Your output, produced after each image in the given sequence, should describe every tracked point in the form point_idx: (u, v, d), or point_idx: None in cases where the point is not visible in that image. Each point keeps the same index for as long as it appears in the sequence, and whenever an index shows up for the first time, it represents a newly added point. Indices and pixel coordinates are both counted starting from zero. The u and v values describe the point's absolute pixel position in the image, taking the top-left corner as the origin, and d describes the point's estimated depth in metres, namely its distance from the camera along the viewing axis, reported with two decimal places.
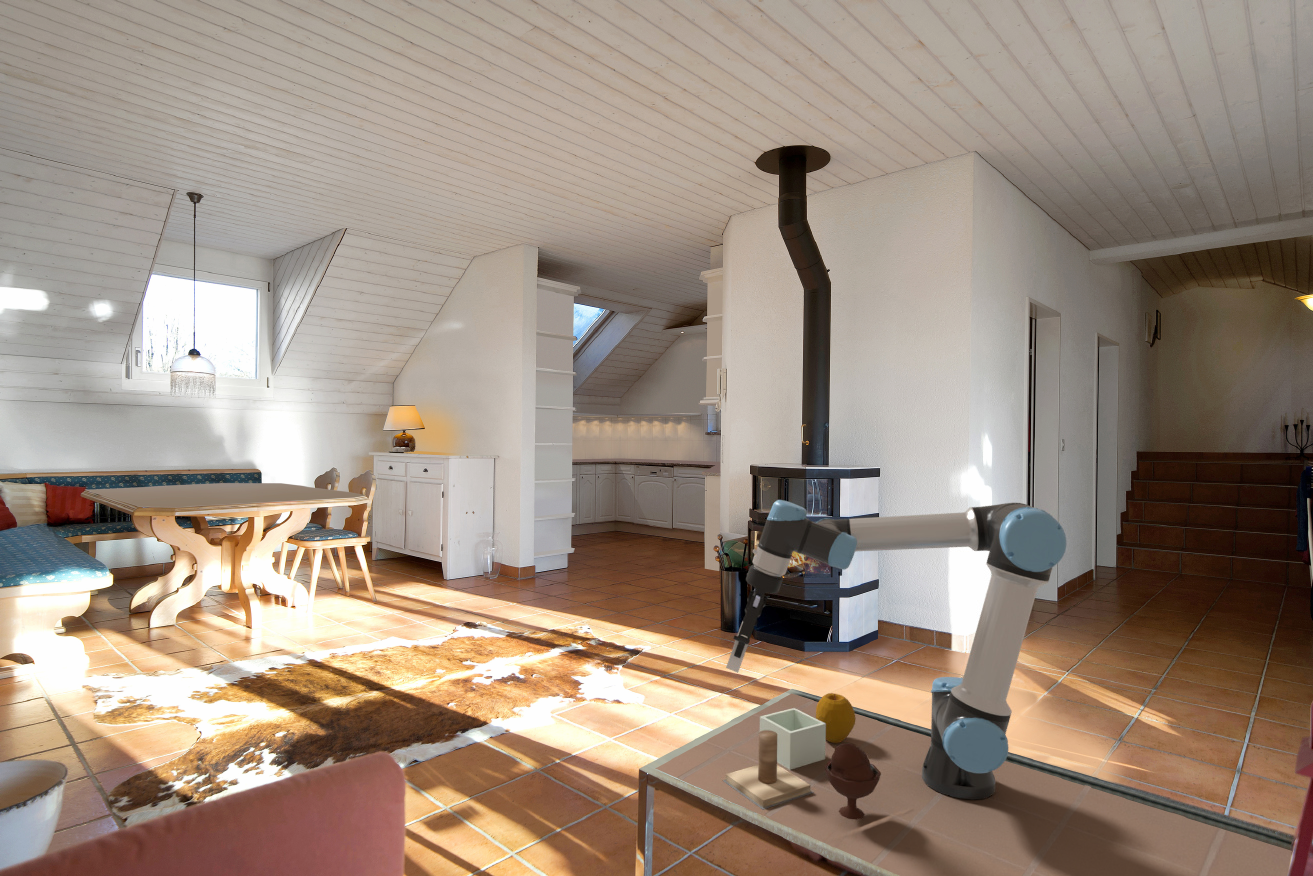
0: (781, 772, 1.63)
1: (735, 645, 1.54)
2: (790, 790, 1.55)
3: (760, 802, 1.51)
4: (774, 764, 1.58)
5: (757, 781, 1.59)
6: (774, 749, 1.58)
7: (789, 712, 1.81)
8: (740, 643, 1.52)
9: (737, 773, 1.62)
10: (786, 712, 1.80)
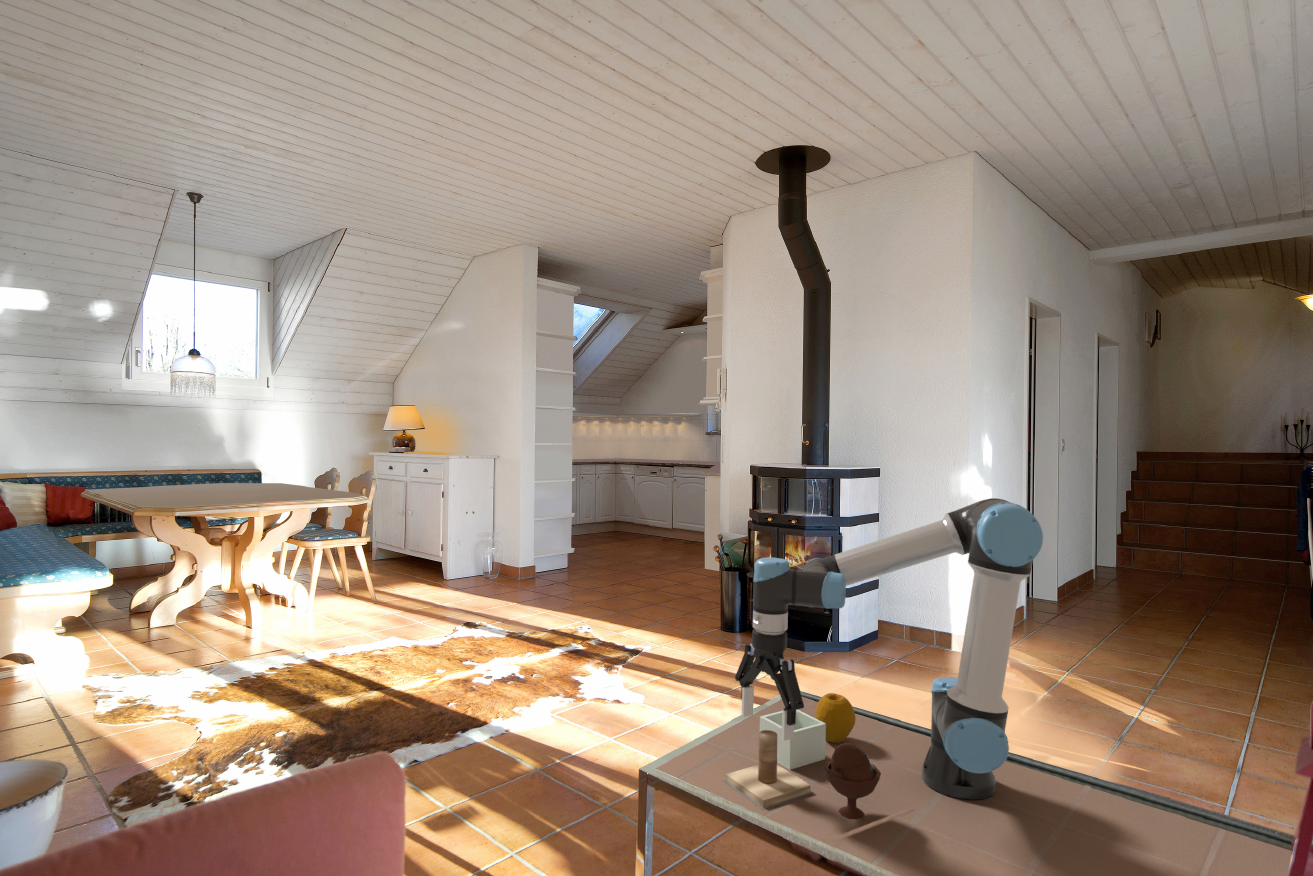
0: (781, 772, 1.63)
1: (785, 715, 1.53)
2: (790, 790, 1.55)
3: (760, 802, 1.51)
4: (774, 764, 1.58)
5: (757, 781, 1.59)
6: (774, 749, 1.58)
7: None
8: (792, 711, 1.52)
9: (737, 773, 1.62)
10: None
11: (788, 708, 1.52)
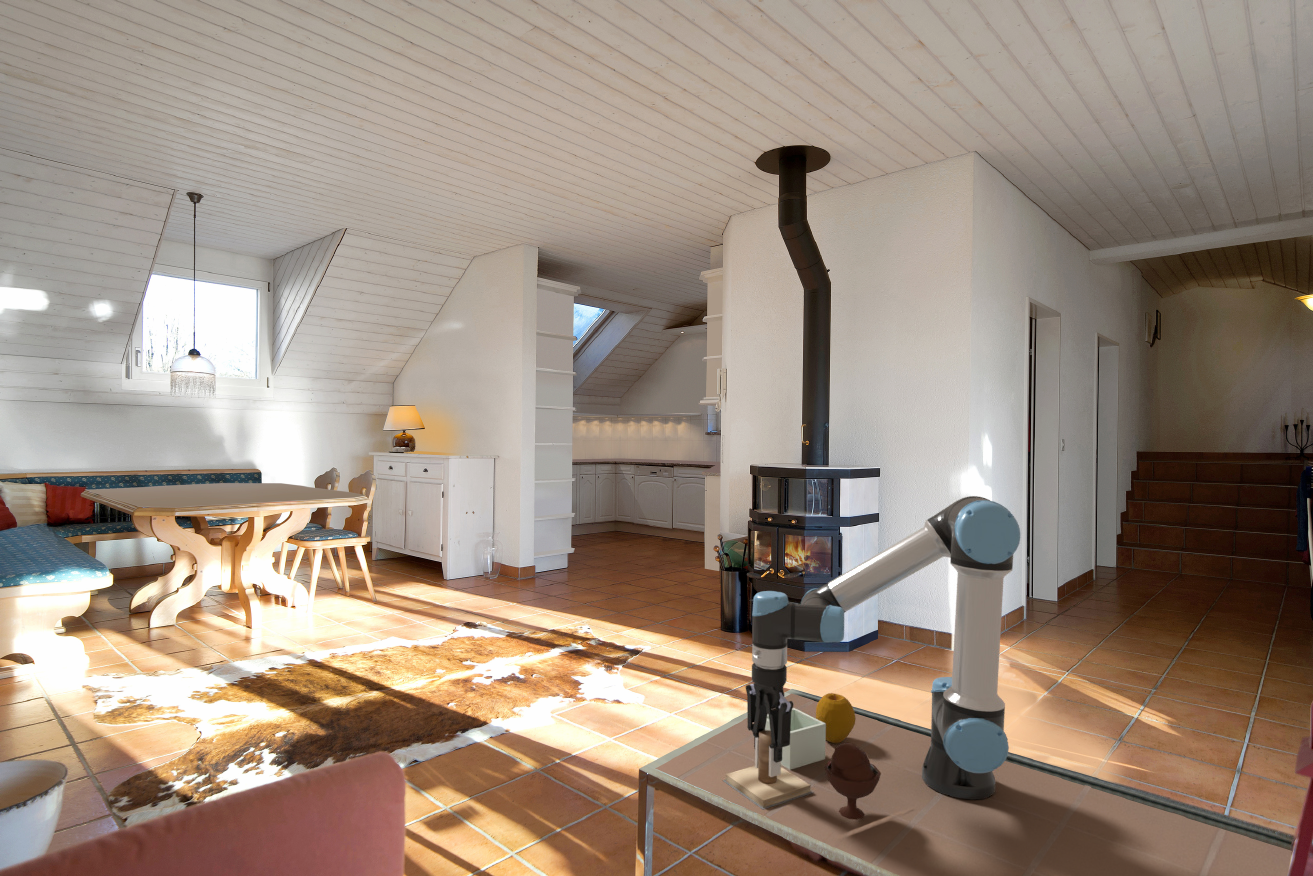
0: (781, 772, 1.63)
1: (772, 752, 1.57)
2: (790, 790, 1.55)
3: (760, 802, 1.51)
4: None
5: (757, 781, 1.59)
6: None
7: None
8: (779, 748, 1.56)
9: (737, 773, 1.62)
10: None
11: (774, 747, 1.56)
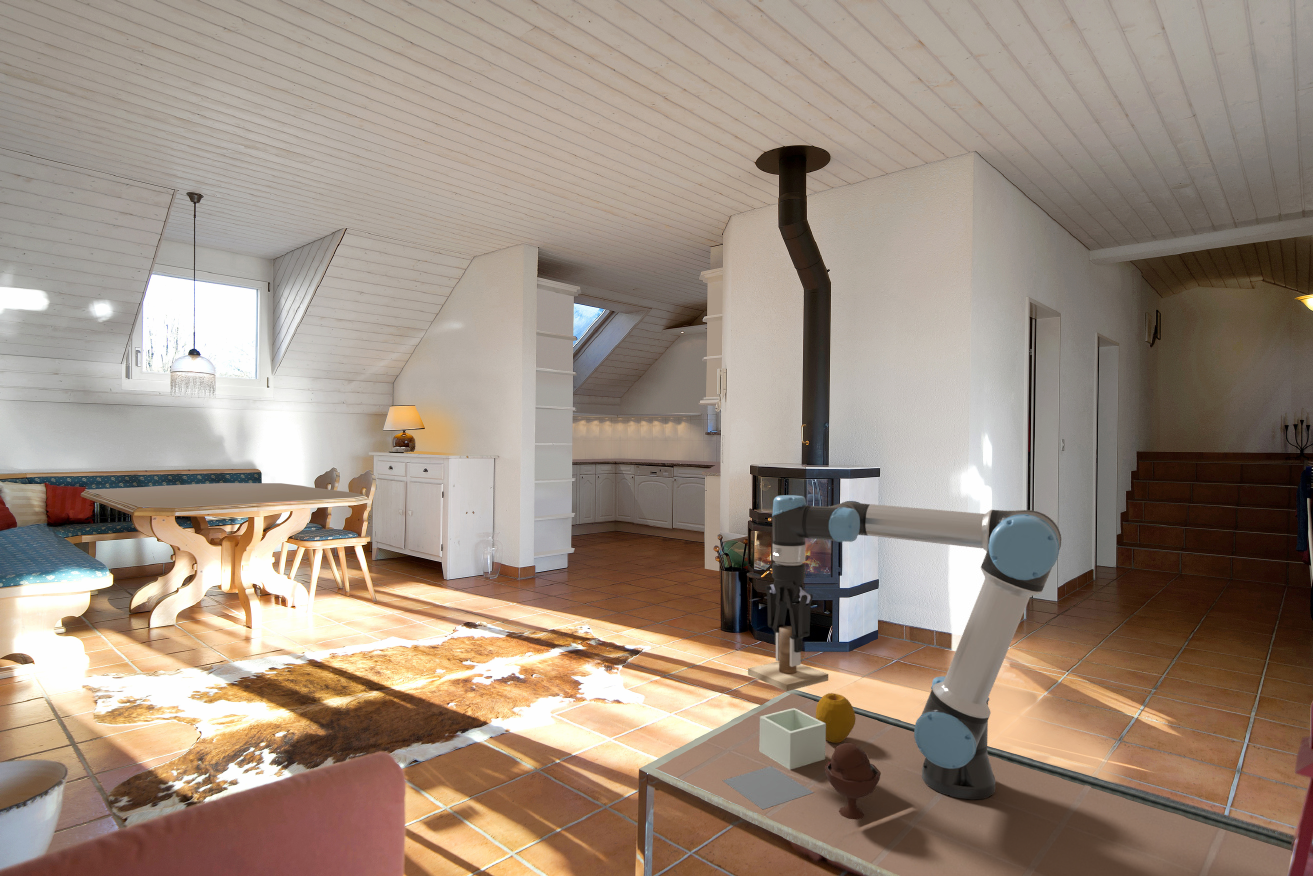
0: (799, 666, 1.74)
1: (793, 643, 1.67)
2: (810, 677, 1.66)
3: (783, 687, 1.62)
4: None
5: (778, 672, 1.69)
6: None
7: (789, 712, 1.81)
8: (799, 639, 1.67)
9: (759, 667, 1.72)
10: (786, 712, 1.80)
11: (795, 637, 1.66)
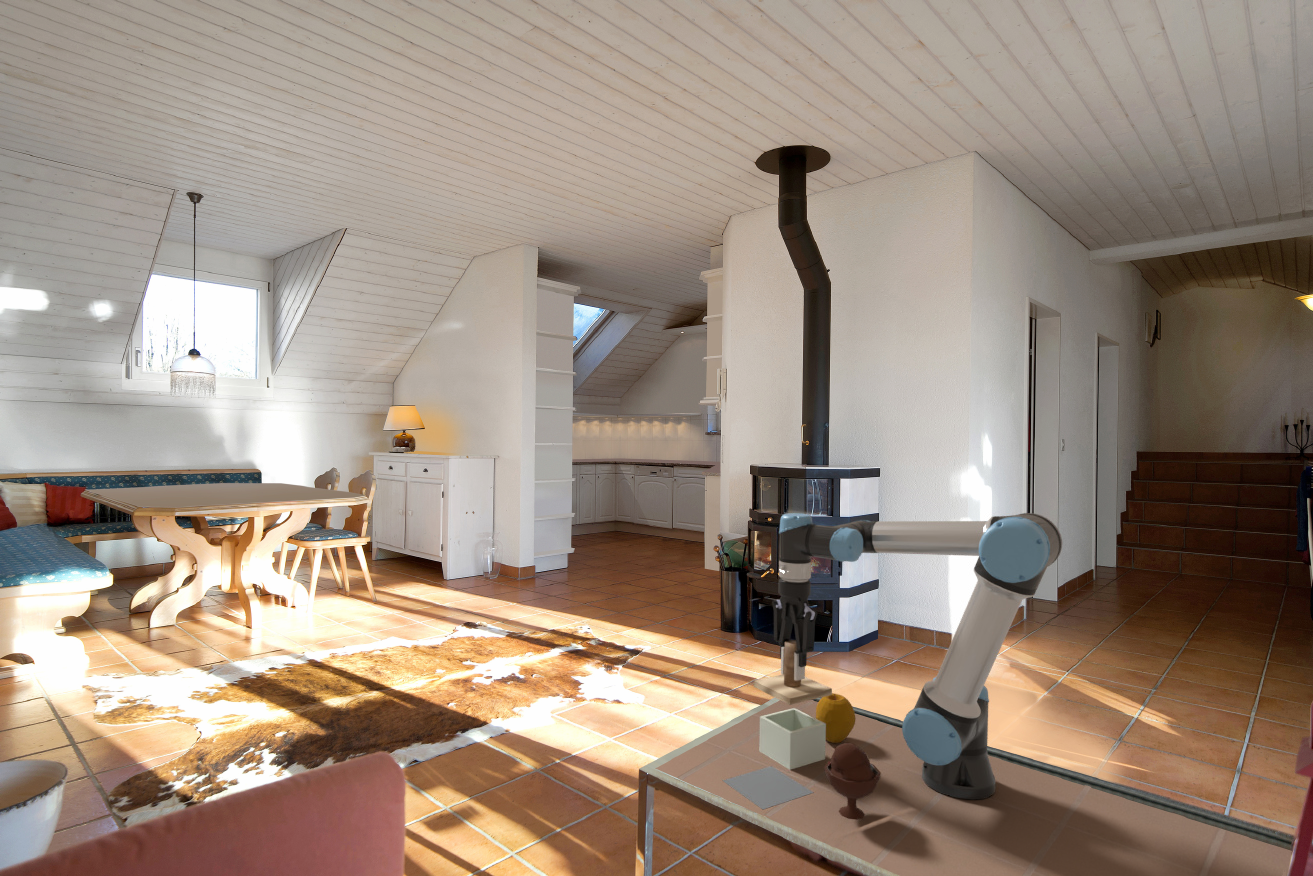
0: (804, 679, 1.78)
1: (797, 658, 1.72)
2: (814, 691, 1.70)
3: (787, 700, 1.67)
4: None
5: (783, 685, 1.74)
6: None
7: (789, 712, 1.81)
8: (803, 654, 1.71)
9: (764, 680, 1.77)
10: (786, 712, 1.80)
11: (799, 652, 1.71)
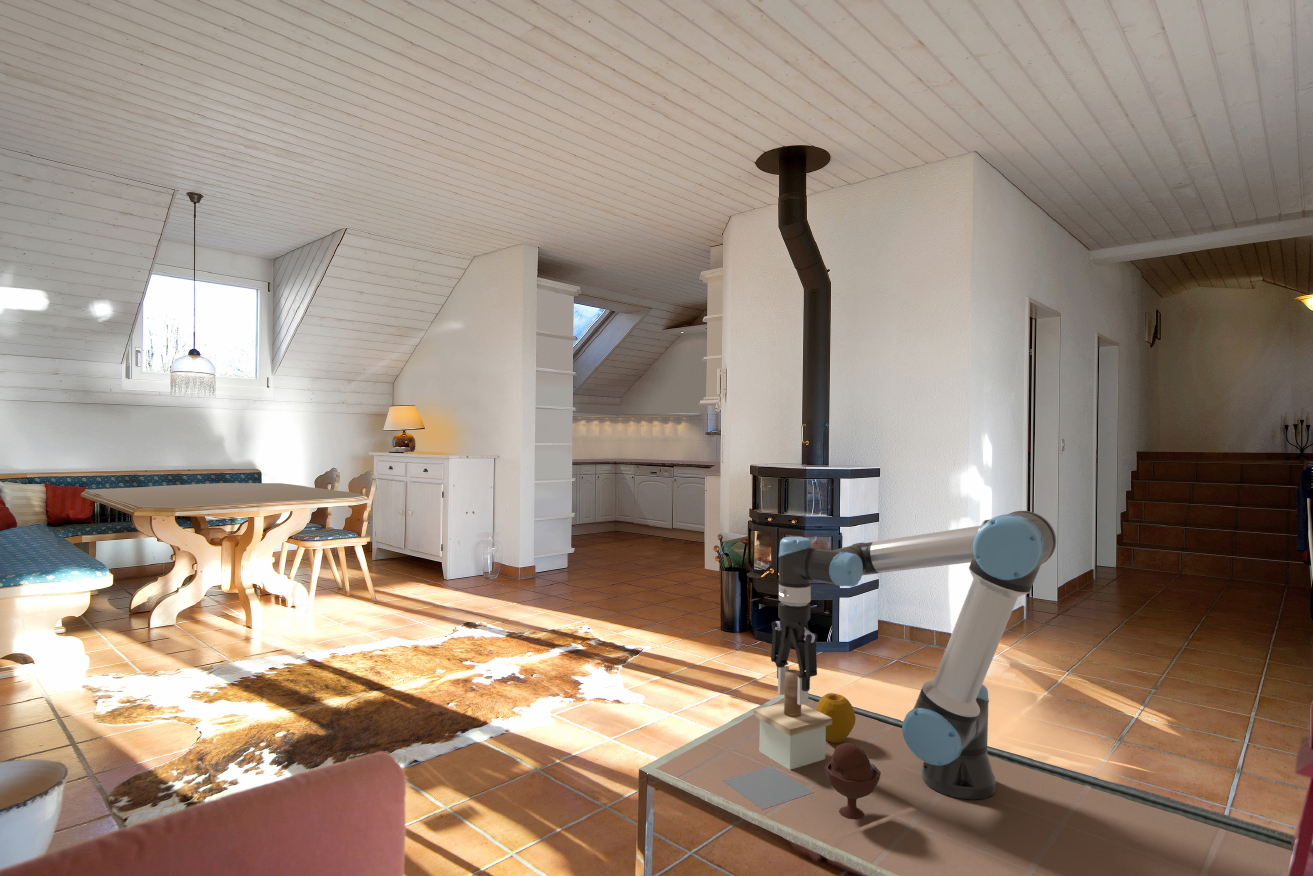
0: (804, 708, 1.78)
1: (800, 682, 1.71)
2: (814, 721, 1.70)
3: (787, 731, 1.67)
4: None
5: (783, 715, 1.74)
6: None
7: None
8: (807, 678, 1.70)
9: (764, 709, 1.77)
10: None
11: (803, 676, 1.70)
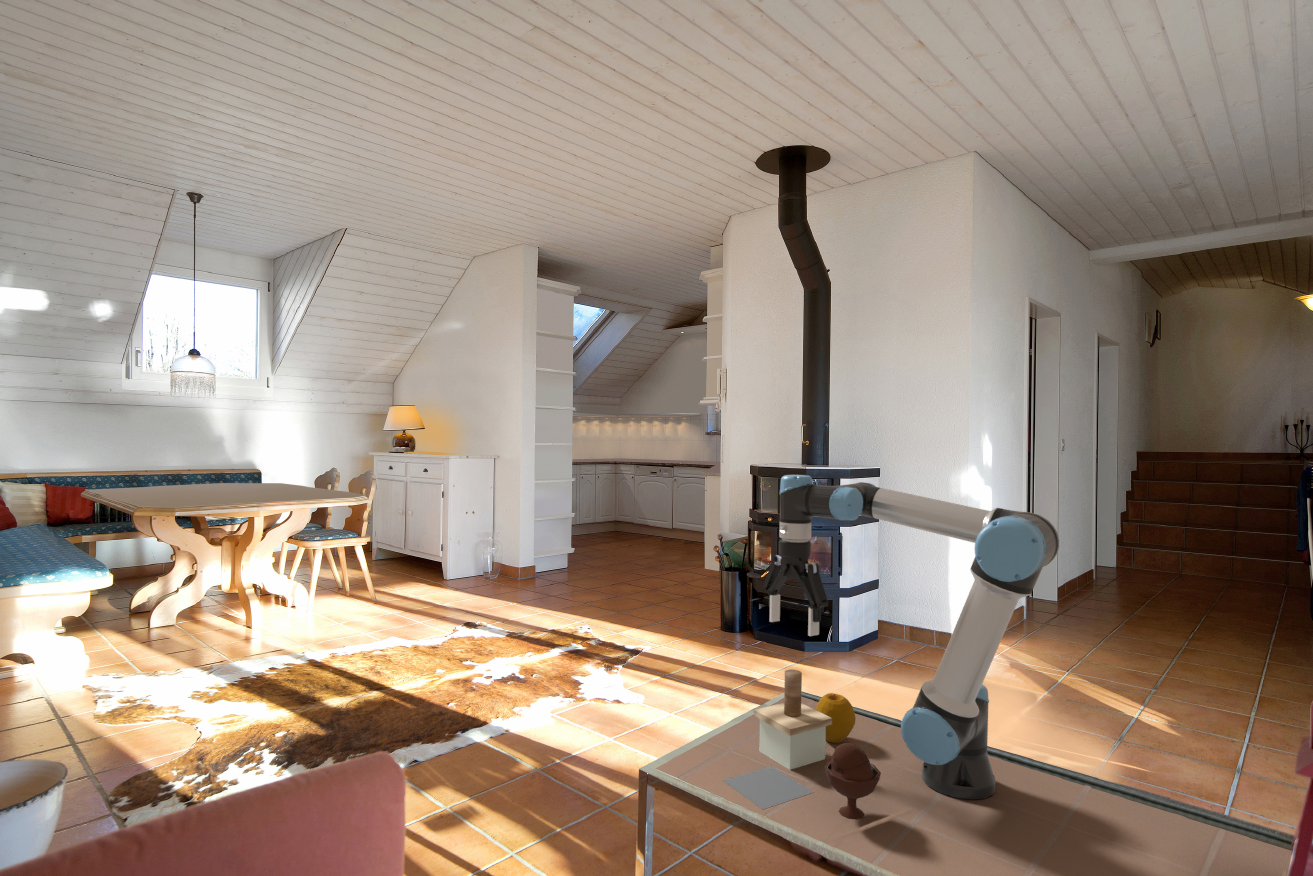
0: (804, 708, 1.78)
1: (811, 613, 1.69)
2: (814, 721, 1.70)
3: (787, 731, 1.67)
4: (798, 699, 1.73)
5: (783, 715, 1.74)
6: (799, 686, 1.73)
7: None
8: (818, 608, 1.68)
9: (764, 709, 1.77)
10: None
11: (814, 606, 1.67)
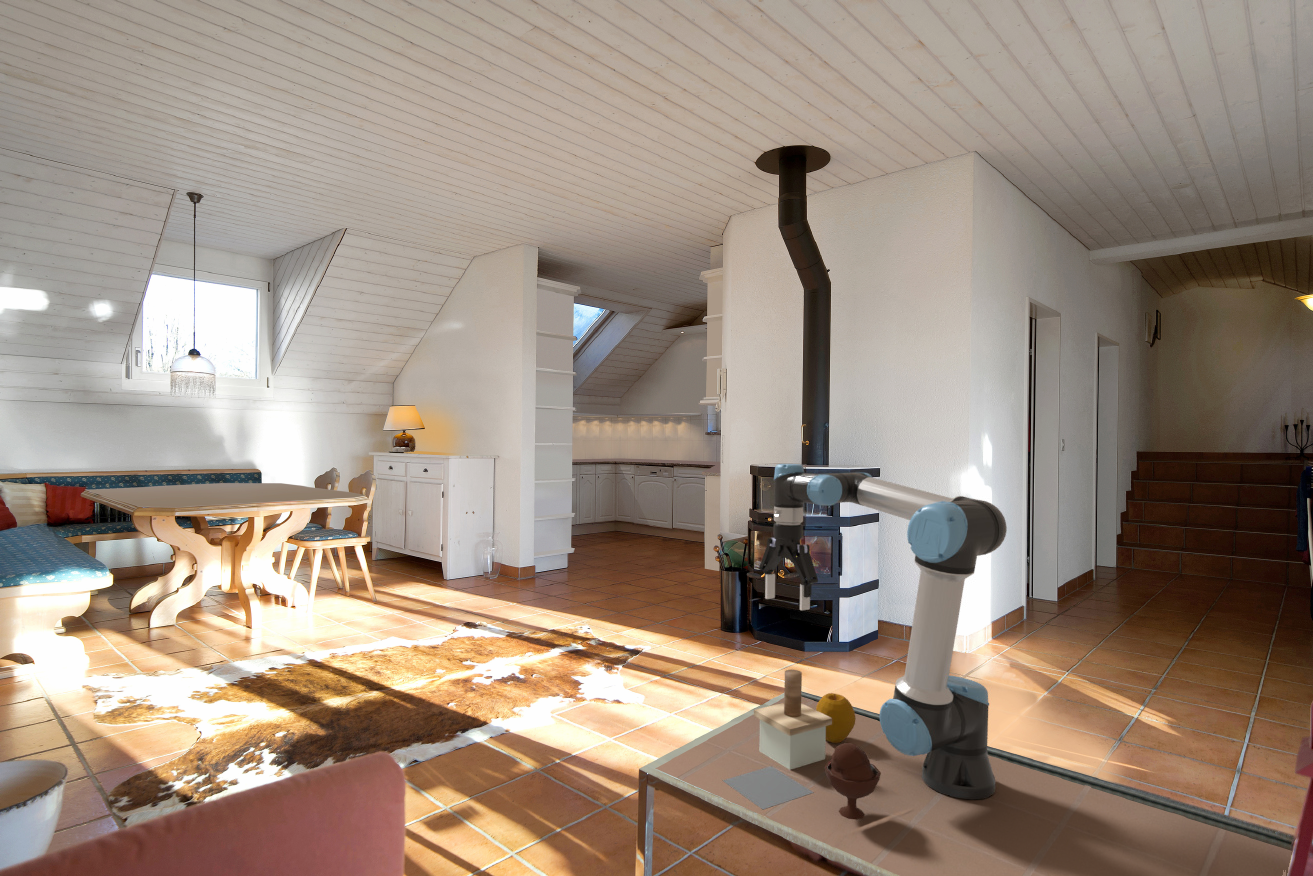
0: (804, 708, 1.78)
1: (802, 589, 1.85)
2: (814, 721, 1.70)
3: (787, 731, 1.67)
4: (798, 699, 1.73)
5: (783, 715, 1.74)
6: (799, 686, 1.73)
7: None
8: (808, 585, 1.84)
9: (764, 709, 1.77)
10: None
11: (805, 582, 1.84)
